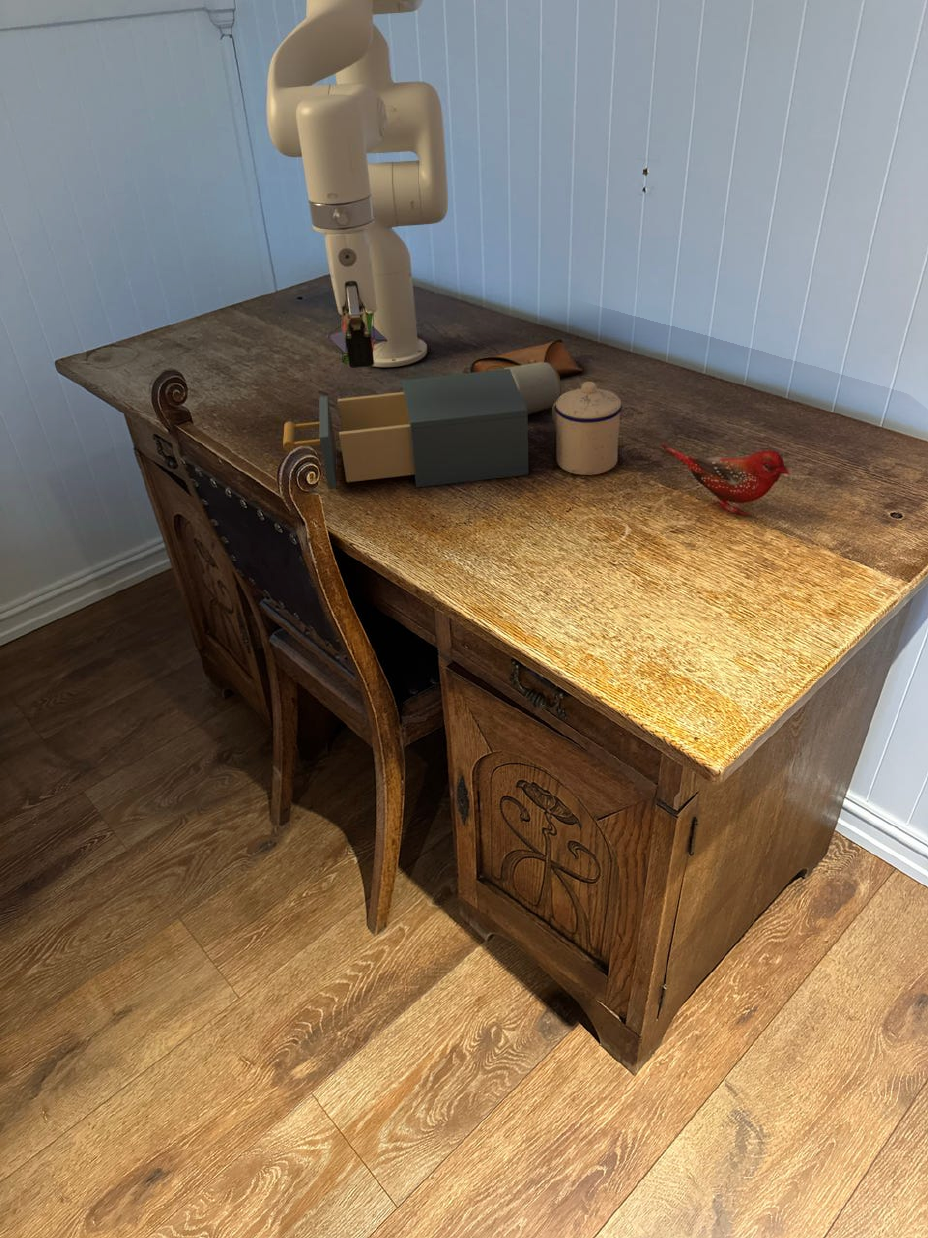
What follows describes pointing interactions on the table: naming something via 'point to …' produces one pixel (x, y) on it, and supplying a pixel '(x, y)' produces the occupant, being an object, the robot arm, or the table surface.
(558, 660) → the table surface
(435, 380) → the cabinet
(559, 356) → the sunglasses case
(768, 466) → the decorative bird figurine
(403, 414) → the drawer
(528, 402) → the ceramic mug
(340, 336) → the geometric puzzle
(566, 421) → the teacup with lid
